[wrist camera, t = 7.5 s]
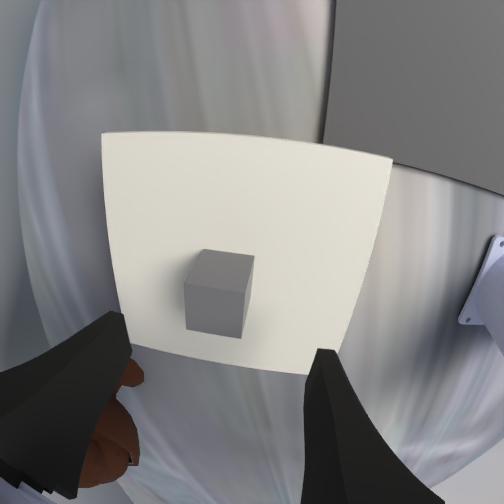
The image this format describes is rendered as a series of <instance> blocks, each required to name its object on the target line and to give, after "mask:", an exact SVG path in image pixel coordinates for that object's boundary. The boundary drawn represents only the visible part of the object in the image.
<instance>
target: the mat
mask: <svg viewBox="0 0 504 504" xmlns="http://www.w3.org/2000/svg"><path fill="white" fill-rule="evenodd" d="M322 144H324V145H330V146H336V147H342V148H347V149H352V150H358V151H363V152H367V153H372V154H377V155H381V156H386V157H389V158H391V159H393V162H396V163H400V164H404V165H408V166H412V167H416V168H420V169H423V170H427V171H431V172H434V173H438V174H441V175H445V176H448V177H451V178H455V179H458V180H461V181H464V182H467V183H470V184H473V185H476V186H479V187H482V188H485V189H488V190H491V191H494V192H496V193H499V194H502V195H504V0H336V4H335V21H334V35H333V48H332V59H331V70H330V80H329V90H328V99H327V108H326V116H325V124H324V132H323V140H322Z"/></svg>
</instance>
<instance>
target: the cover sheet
mask: <svg viewBox="0 0 504 504" xmlns="http://www.w3.org/2000/svg"><path fill="white" fill-rule="evenodd" d="M392 162H393V159H391V158H389V157H386V156H381V155H377V154H372V153H367V152H363V151H358V150H352V149H347V148H342V147H336V146H330V145H324V144H318V143H311V142H304V141H297V140H290V139H282V138H273V137H264V136H254V135H242V134H229V133H213V132H190V131H126V132H107V133H103V134H102V167H103V185H104V198H105V209H106V219H107V228H108V236H109V244H110V251H111V258H112V264H113V270H114V276H115V282H116V287H117V293H118V298H119V303H120V308H121V312H122V314H124V318H125V323H126V327H127V331H128V336H129V340H130V343H133V344H137V345H140V346H144V347H148V348H152V349H156V350H161V351H165V352H169V353H174V354H178V355H183V356H187V357H192V358H197V359H202V360H207V361H213V362H218V363H224V364H230V365H236V366H242V367H249V368H256V369H263V370H270V371H278V372H287V373H296V374H306V375H309V372H310V369H311V366H312V363H313V360H314V357H315V354H316V351H317V348H322V349H332V350H335V351H336V353H337V354H338V351H339V349H340V346H341V344H342V341H343V338H344V336H345V333H346V330H347V327H348V325H349V322H350V319H351V316H352V313H353V310H354V307H355V304H356V301H357V298H358V295H359V292H360V289H361V286H362V283H363V280H364V276H365V273H366V270H367V266H368V263H369V260H370V256H371V253H372V249H373V245H374V242H375V238H376V234H377V230H378V226H379V222H380V218H381V214H382V210H383V206H384V201H385V197H386V192H387V188H388V183H389V178H390V173H391V168H392Z"/></svg>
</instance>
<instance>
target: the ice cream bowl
mask: <svg viewBox="0 0 504 504" xmlns="http://www.w3.org/2000/svg"><path fill="white" fill-rule="evenodd" d="M143 381H144V372H143V371H142V370H141V368H140V367H139V366H138V365H137V363H136V362H135V361H134V360H132V359H131V358H129V361H128V364H127V366H126V369H125V371H124V373H123V375H122V377H121V379H120V380H119V382H118V384H117V386H116V388H115V390H114V391H113V393H112V395H111V397H110V398H109V400H108V402H107V404H106V406H105V408H104V409H103V411H102V413H101V415H100V417H99V419H98V421H97V424H96V426H95V429H94V432H93V434H92V437H91V440H90V443H89V446H88V449H87V452H86V455H85V459H84V463H83V467H82V471H81V475H80V480H79V486H78V488H90V487H93V486H97V485H99V484H104V483H109V482H113V481H115V480H116V479H118V478H119V477H121V476H122V475H123V474H124V473H125V471H126V470H127V467H128V466H138V463H139V456H140V448H139V439H138V433H137V428H136V426H135V424H134V422H133V419H132V417H131V415H130V414H129V413H128V411H127V410H126V409H125V407H124V406H123V405H122V404H121V403H120V402H119V401H118V400H117V399H116V394H117V392H118V390H119V388H120V387H121V385H124V386H129V387H135V386H137V385H140V384H141V383H142V382H143Z"/></svg>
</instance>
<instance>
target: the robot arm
mask: <svg viewBox="0 0 504 504" xmlns="http://www.w3.org/2000/svg"><path fill="white" fill-rule="evenodd" d="M501 241H502V242H501ZM500 243H501V244H500ZM467 318H468V319H467ZM458 322H459V323H460V324H465V325H485V326H486V328H487V329H488V331H489V333H490V334H491V336H492V337H493V339H494V341H495V342H496V344H497V346H498V347H499V349H500V351H501V352H502V354H503V356H504V237H503V236H500V235H495V236H494V237H493V238H492V240H491V243H490V246H489V249H488V252H487V254H486V257H485V259H484V262H483V264H482V267H481V269H480V272H479V274H478V277H477V279H476V281H475V284H474V286H473V288H472V290H471V292H470V295H469V297H468V299H467V301H466V303H465V305H464V307H463V309H462V311H461V313H460V315H459V317H458ZM131 353H132V348H131V344H130V340H129V336H128V331H127V327H126V323H125V318H124V314H121V313H117V312H113V311H109V312H108V313H106V314H105V315H103V316H101V317H100V318H98V319H97V320H95V321H94V322H92V323H91V324H89V325H88V326H86V327H85V328H83V329H82V330H80V331H79V332H77V333H76V334H74V335H73V336H71V337H70V338H68V339H67V340H65V341H64V342H62V343H60V344H59V345H57V346H55V347H54V348H52V349H50V350H49V351H47V352H45V353H44V354H42V355H40V356H38V357H36V358H34V359H32V360H30V361H28V362H26V363H23V364H21V365H18V366H16V367H13V368H11V369H8V370H6V371H3V372H0V504H56V503H55V502H53V501H51V500H50V499H48V498H46V497H45V496H43V495H42V492H43V490H45V491H46V492H48V493H49V494H52V492H53V491H55V492H57V493H58V494H60V495H62V496H64V497H66V498H67V499H69V500H70V499H75V498H76V497H77V492H78V486H79V480H80V475H81V471H82V467H83V463H84V459H85V455H86V452H87V449H88V446H89V443H90V440H91V437H92V434H93V432H94V429H95V426H96V424H97V421H98V419H99V417H100V415H101V413H102V411H103V409H104V408H105V406H106V404H107V402H108V400H109V398H110V397H111V395H112V393H113V391H114V390H115V388H116V386H117V384H118V382H119V380H120V379H121V377H122V375H123V373H124V371H125V369H126V366H127V364H128V361H129V358H130V356H131ZM303 409H304V440H305V471H304V480H303V489H302V497H301V504H445V501H444V500H442V499H441V498H440V497H439V496H437V495H436V494H434V492H432V491H431V490H430V489H429V488H427V487H426V486H425V485H424V484H423V483H422V482H421V481H420V480H419V479H418V478H417V477H415V476H414V475H413V474H412V473H411V471H410V470H409V469H408V468H407V467H406V466H405V465H404V464H403V463H402V462H401V460H400V459H399V458H398V457H397V456H396V455H395V454H394V452H393V451H392V450H391V449H390V447H389V446H388V445H387V443H386V442H385V441H384V439H383V438H382V436H381V435H380V434H379V432H378V431H377V429H376V428H375V426H374V425H373V423H372V422H371V420H370V418H369V417H368V415H367V413H366V412H365V410H364V408H363V406H362V405H361V403H360V401H359V399H358V397H357V395H356V393H355V392H354V390H353V388H352V386H351V384H350V382H349V380H348V377H347V375H346V373H345V371H344V369H343V367H342V364H341V362H340V360H339V358H338V355H337V353H336V351H335V350H332V349H322V348H317V351H316V354H315V357H314V360H313V363H312V366H311V369H310V372H309V375H308V377H307V380H306V383H305V394H304V407H303Z"/></svg>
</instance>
